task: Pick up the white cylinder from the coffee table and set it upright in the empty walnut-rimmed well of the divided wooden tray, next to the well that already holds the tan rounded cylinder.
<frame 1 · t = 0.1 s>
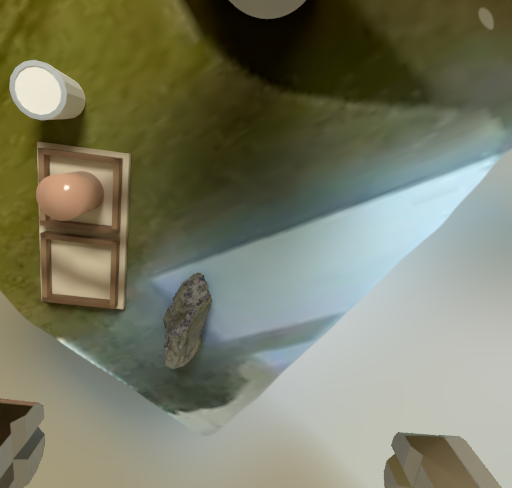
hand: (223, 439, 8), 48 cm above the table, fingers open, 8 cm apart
white cylinder: (65, 98, 50), on the table
mineral rock: (194, 310, 60), on the table
tan rounded cylinder: (83, 191, 52), point 1 cm above the table, touching divided wooden tray
divided wooden tray: (85, 229, 55), on the table
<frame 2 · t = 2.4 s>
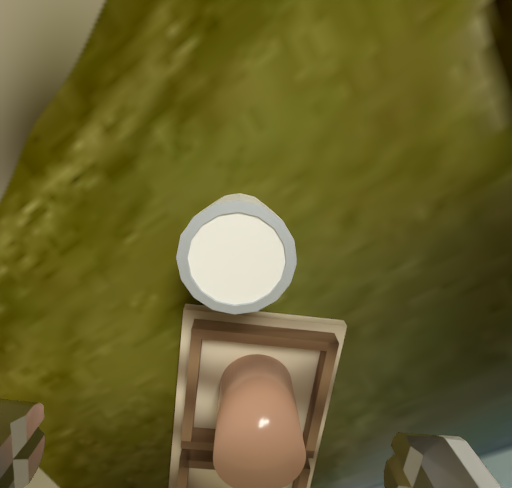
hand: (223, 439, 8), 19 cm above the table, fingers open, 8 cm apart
white cylinder: (238, 229, 27), on the table
tan rounded cylinder: (255, 385, 29), point 1 cm above the table, touching divided wooden tray
divided wooden tray: (246, 435, 32), on the table
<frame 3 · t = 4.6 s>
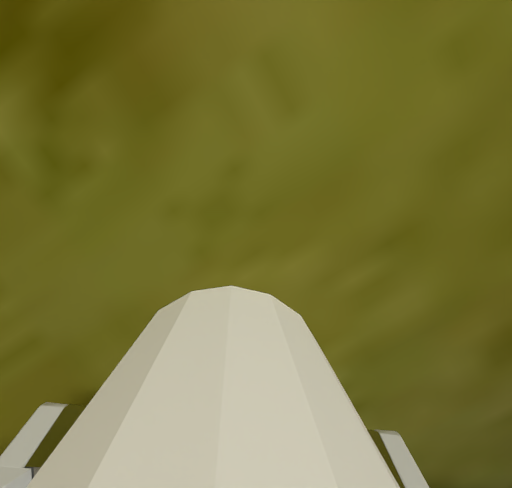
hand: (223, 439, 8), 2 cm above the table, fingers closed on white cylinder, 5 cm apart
white cylinder: (227, 369, 11), on the table, touching gripper
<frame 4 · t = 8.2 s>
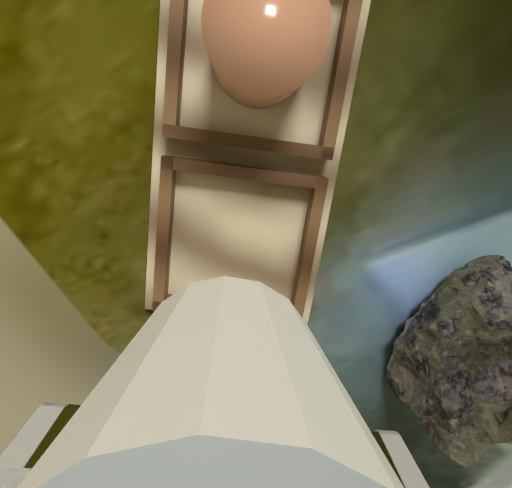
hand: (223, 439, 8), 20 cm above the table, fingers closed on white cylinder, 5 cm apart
white cylinder: (227, 352, 12), point 16 cm above the table, touching gripper
mineral rock: (440, 329, 30), on the table
tan rounded cylinder: (259, 59, 23), point 1 cm above the table, touching divided wooden tray
divided wooden tray: (247, 156, 25), on the table
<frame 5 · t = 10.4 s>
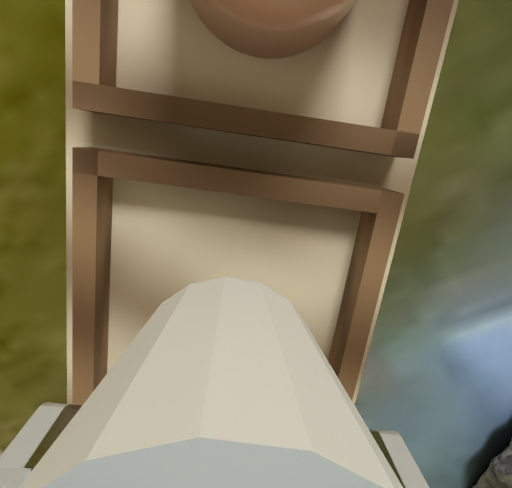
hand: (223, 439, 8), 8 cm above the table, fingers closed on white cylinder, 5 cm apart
white cylinder: (227, 353, 12), point 4 cm above the table, touching gripper
divided wooden tray: (246, 151, 14), on the table
when the fingers open (5 cm above the table, at t = 12.0 s): white cylinder stays where it is, resting on divided wooden tray.
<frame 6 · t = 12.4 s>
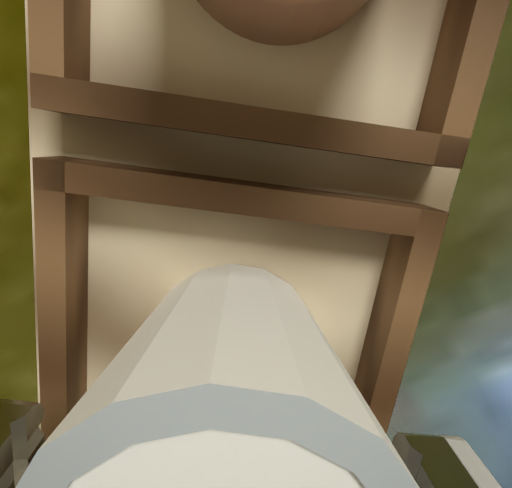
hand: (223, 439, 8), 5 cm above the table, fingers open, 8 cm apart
white cylinder: (233, 337, 12), point 1 cm above the table, touching divided wooden tray
divided wooden tray: (250, 159, 12), on the table
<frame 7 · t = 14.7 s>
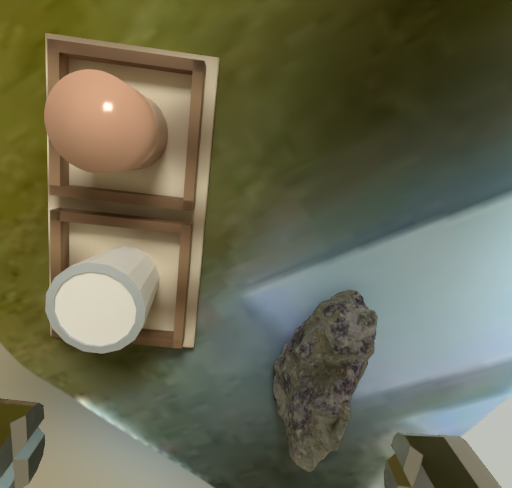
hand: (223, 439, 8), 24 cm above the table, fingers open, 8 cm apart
white cylinder: (127, 275, 31), point 1 cm above the table, touching divided wooden tray
mineral rock: (320, 352, 35), on the table
tan rounded cylinder: (130, 131, 28), point 1 cm above the table, touching divided wooden tray
divided wooden tray: (131, 206, 31), on the table
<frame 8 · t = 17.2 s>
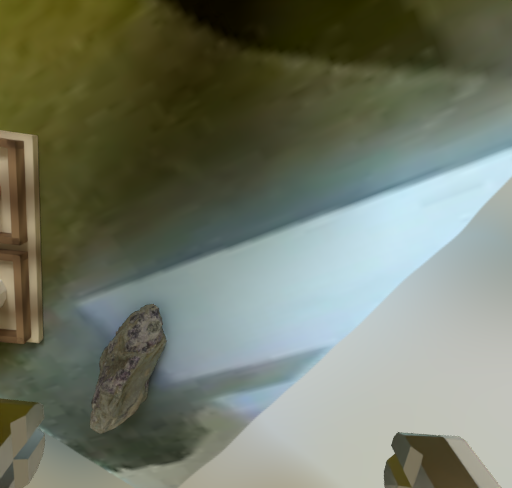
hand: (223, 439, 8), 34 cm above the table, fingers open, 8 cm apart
mineral rock: (144, 348, 46), on the table
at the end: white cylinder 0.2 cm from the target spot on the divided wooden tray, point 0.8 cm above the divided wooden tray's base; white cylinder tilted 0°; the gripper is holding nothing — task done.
